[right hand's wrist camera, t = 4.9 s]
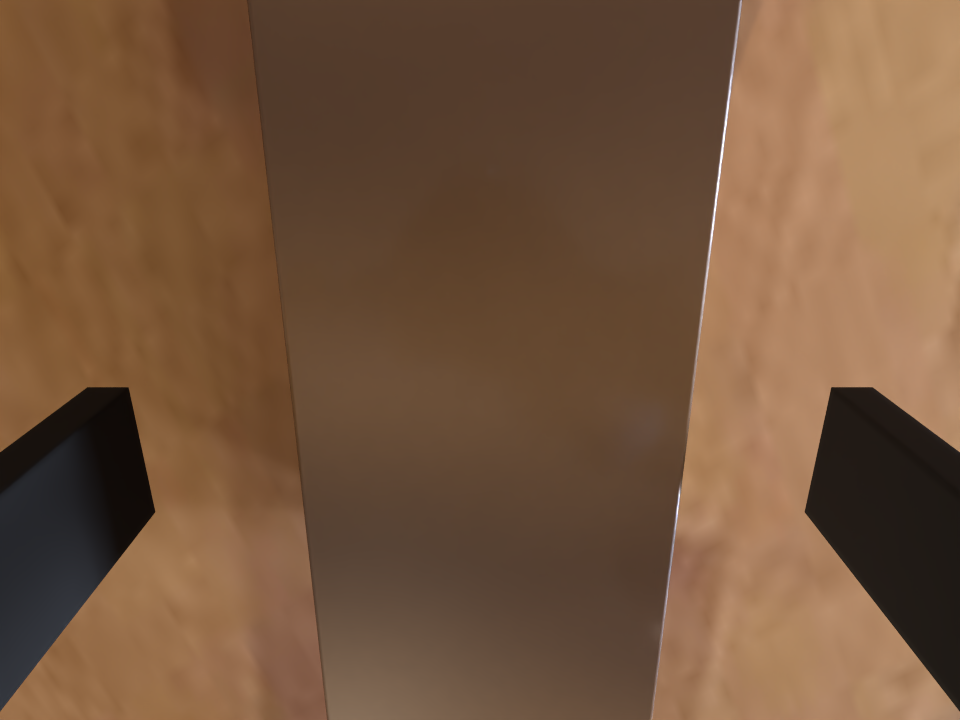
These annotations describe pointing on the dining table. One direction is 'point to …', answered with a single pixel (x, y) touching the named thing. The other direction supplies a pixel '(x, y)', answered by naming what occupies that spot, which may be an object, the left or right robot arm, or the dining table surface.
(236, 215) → the dining table surface
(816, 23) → the dining table surface
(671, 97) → the post
